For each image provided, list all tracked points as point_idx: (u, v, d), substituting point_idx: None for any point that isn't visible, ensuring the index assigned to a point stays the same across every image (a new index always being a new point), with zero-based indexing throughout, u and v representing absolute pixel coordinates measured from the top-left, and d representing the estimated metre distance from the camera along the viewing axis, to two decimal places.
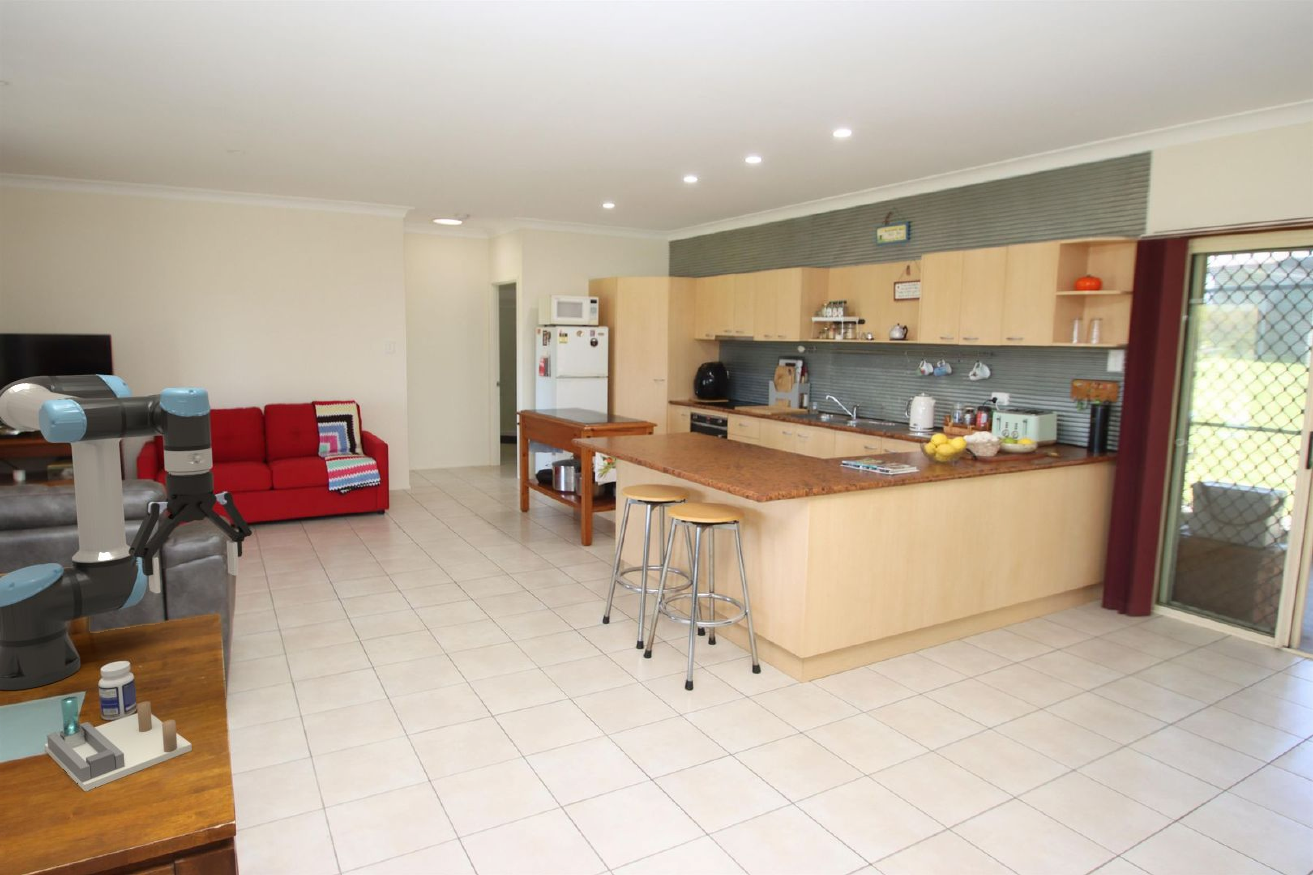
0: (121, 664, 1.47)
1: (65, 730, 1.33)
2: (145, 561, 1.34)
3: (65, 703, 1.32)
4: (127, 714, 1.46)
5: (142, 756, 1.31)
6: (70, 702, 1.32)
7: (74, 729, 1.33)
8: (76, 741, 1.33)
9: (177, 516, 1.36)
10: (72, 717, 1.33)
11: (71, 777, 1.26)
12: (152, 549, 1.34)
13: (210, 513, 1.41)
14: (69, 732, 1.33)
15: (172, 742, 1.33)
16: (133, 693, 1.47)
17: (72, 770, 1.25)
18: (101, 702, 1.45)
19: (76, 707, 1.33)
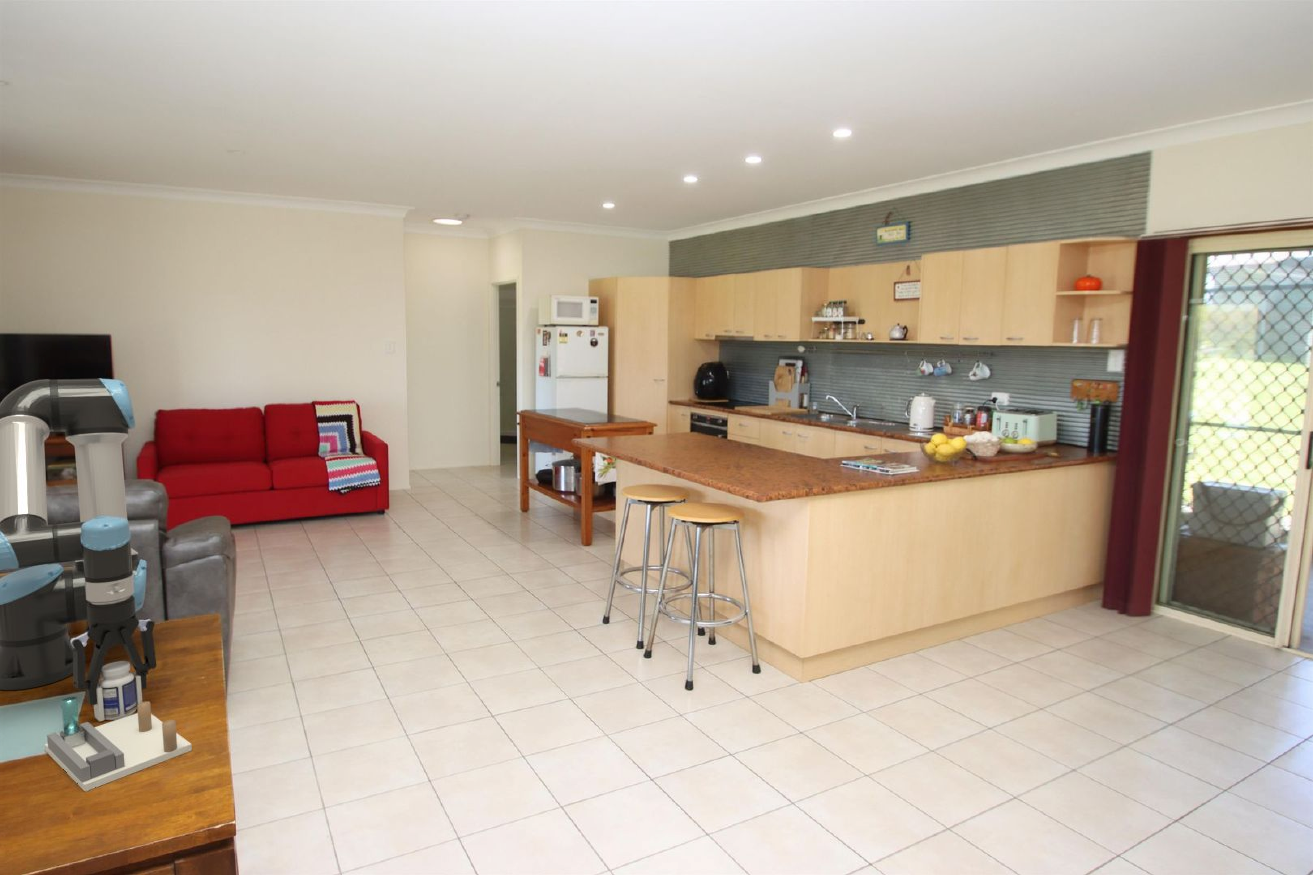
0: (121, 664, 1.47)
1: (65, 730, 1.33)
2: (89, 692, 1.43)
3: (65, 703, 1.32)
4: (127, 714, 1.46)
5: (142, 756, 1.31)
6: (70, 702, 1.32)
7: (74, 729, 1.33)
8: (76, 741, 1.33)
9: (102, 645, 1.43)
10: (72, 717, 1.33)
11: (71, 777, 1.26)
12: (93, 681, 1.43)
13: (127, 640, 1.46)
14: (69, 732, 1.33)
15: (172, 742, 1.33)
16: (133, 693, 1.47)
17: (72, 770, 1.25)
18: None
19: (76, 707, 1.33)
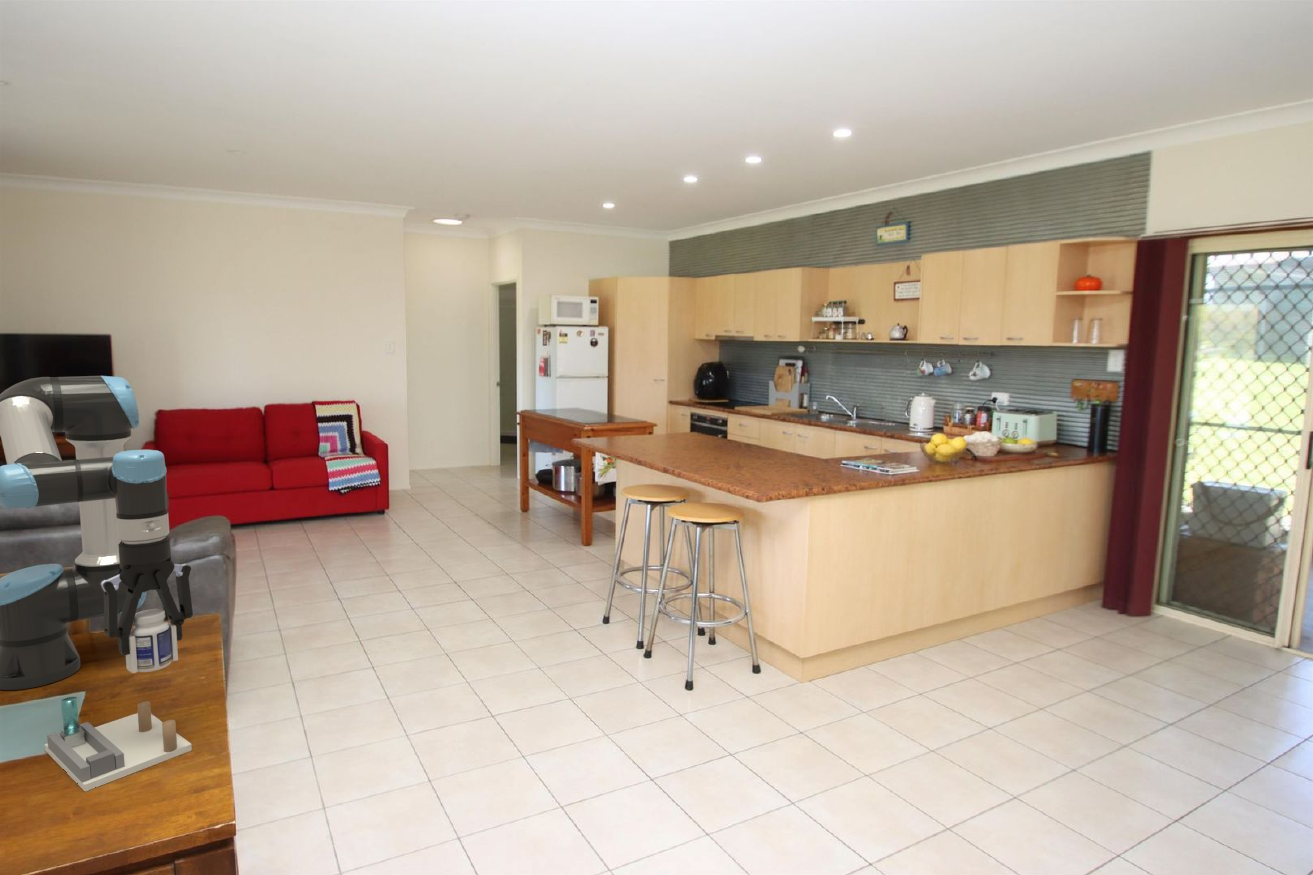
0: (155, 611, 1.34)
1: (65, 730, 1.33)
2: (121, 640, 1.30)
3: (65, 703, 1.32)
4: (162, 666, 1.33)
5: (142, 756, 1.31)
6: (70, 702, 1.32)
7: (74, 729, 1.33)
8: (76, 741, 1.33)
9: (135, 589, 1.30)
10: (72, 717, 1.33)
11: (71, 777, 1.26)
12: (126, 628, 1.30)
13: (162, 584, 1.33)
14: (69, 732, 1.33)
15: (172, 742, 1.33)
16: (168, 643, 1.35)
17: (72, 770, 1.25)
18: None
19: (76, 707, 1.33)
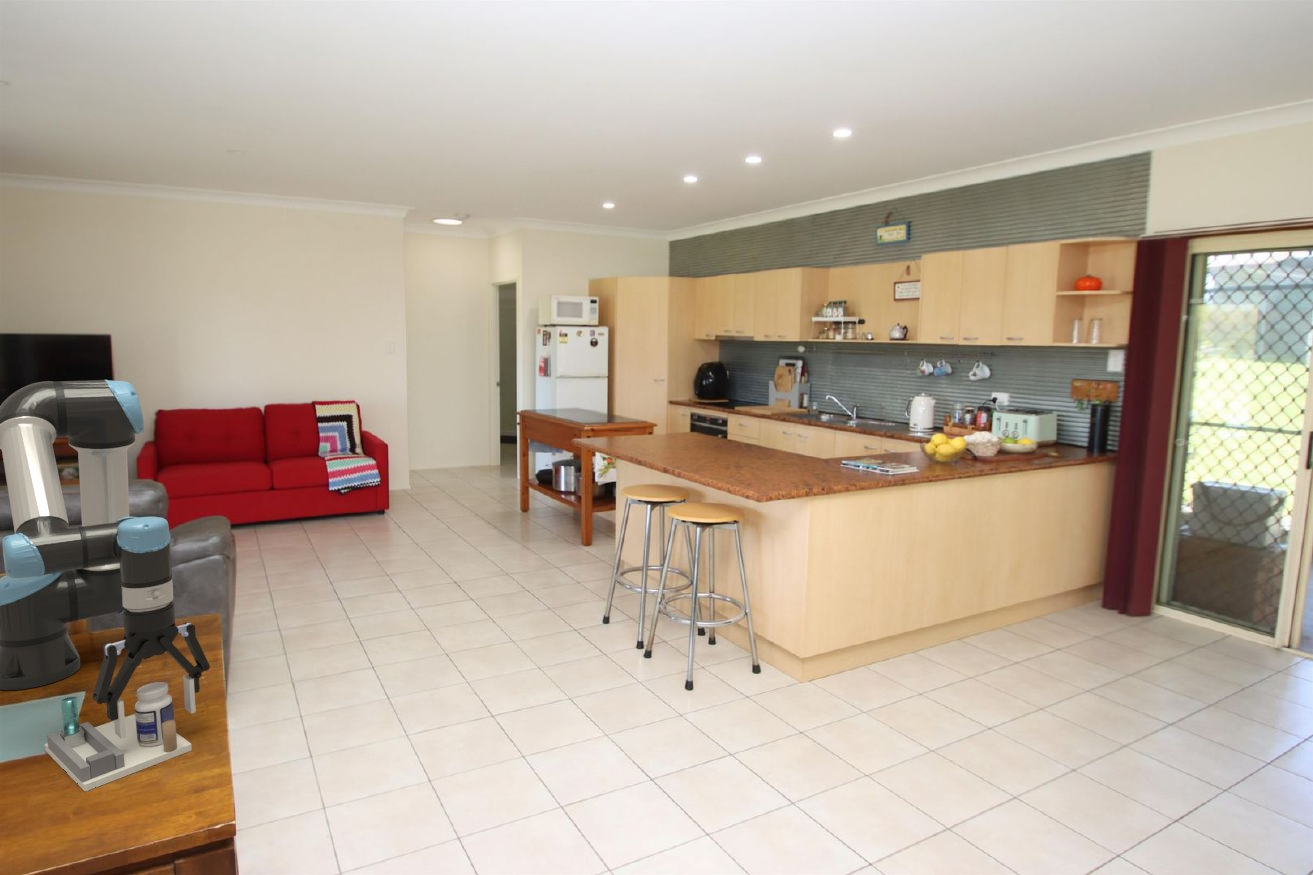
0: (158, 686, 1.36)
1: (65, 730, 1.33)
2: (109, 706, 1.29)
3: (65, 703, 1.32)
4: None
5: (142, 756, 1.31)
6: (70, 702, 1.32)
7: (74, 729, 1.33)
8: (76, 741, 1.33)
9: (137, 655, 1.31)
10: (72, 717, 1.33)
11: (71, 777, 1.26)
12: (116, 693, 1.29)
13: (169, 648, 1.35)
14: (69, 732, 1.33)
15: (172, 742, 1.33)
16: (171, 717, 1.36)
17: (72, 770, 1.25)
18: (137, 727, 1.33)
19: (76, 707, 1.33)
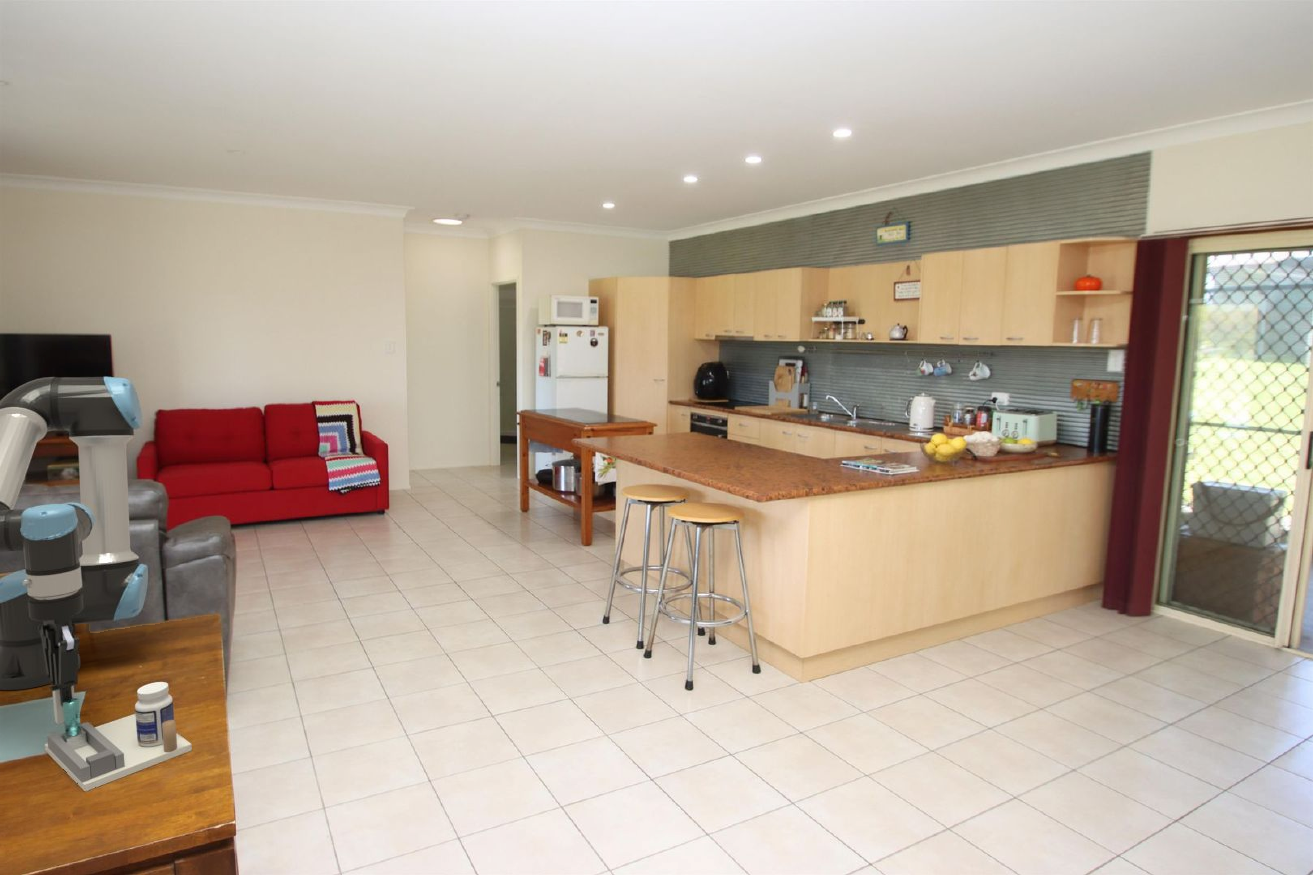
0: (159, 686, 1.36)
1: (67, 732, 1.32)
2: (55, 686, 1.35)
3: (67, 705, 1.31)
4: None
5: (142, 756, 1.31)
6: (72, 704, 1.32)
7: (76, 731, 1.33)
8: (78, 743, 1.33)
9: (44, 640, 1.33)
10: (74, 718, 1.32)
11: (71, 777, 1.26)
12: (50, 676, 1.34)
13: (49, 644, 1.31)
14: (71, 734, 1.32)
15: (172, 742, 1.33)
16: (172, 717, 1.36)
17: (72, 770, 1.25)
18: (137, 727, 1.33)
19: (78, 709, 1.33)
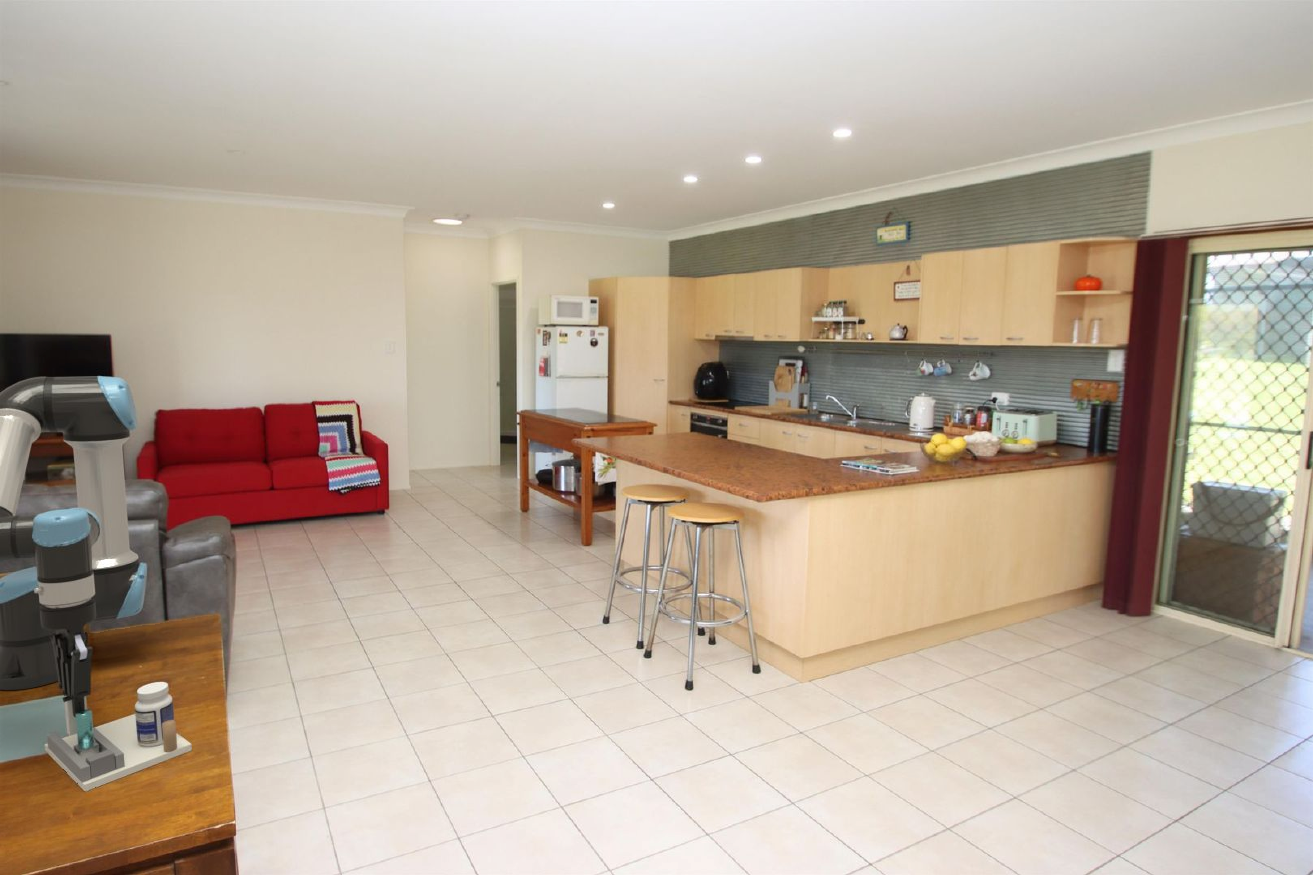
0: (158, 686, 1.36)
1: (80, 744, 1.28)
2: None
3: (80, 716, 1.28)
4: None
5: (142, 756, 1.31)
6: (85, 715, 1.28)
7: (89, 743, 1.29)
8: (91, 755, 1.29)
9: (56, 649, 1.29)
10: (87, 730, 1.29)
11: (71, 777, 1.26)
12: (63, 686, 1.30)
13: (61, 653, 1.27)
14: (84, 746, 1.28)
15: (172, 742, 1.33)
16: (171, 717, 1.36)
17: (72, 770, 1.25)
18: (137, 727, 1.33)
19: (91, 720, 1.29)
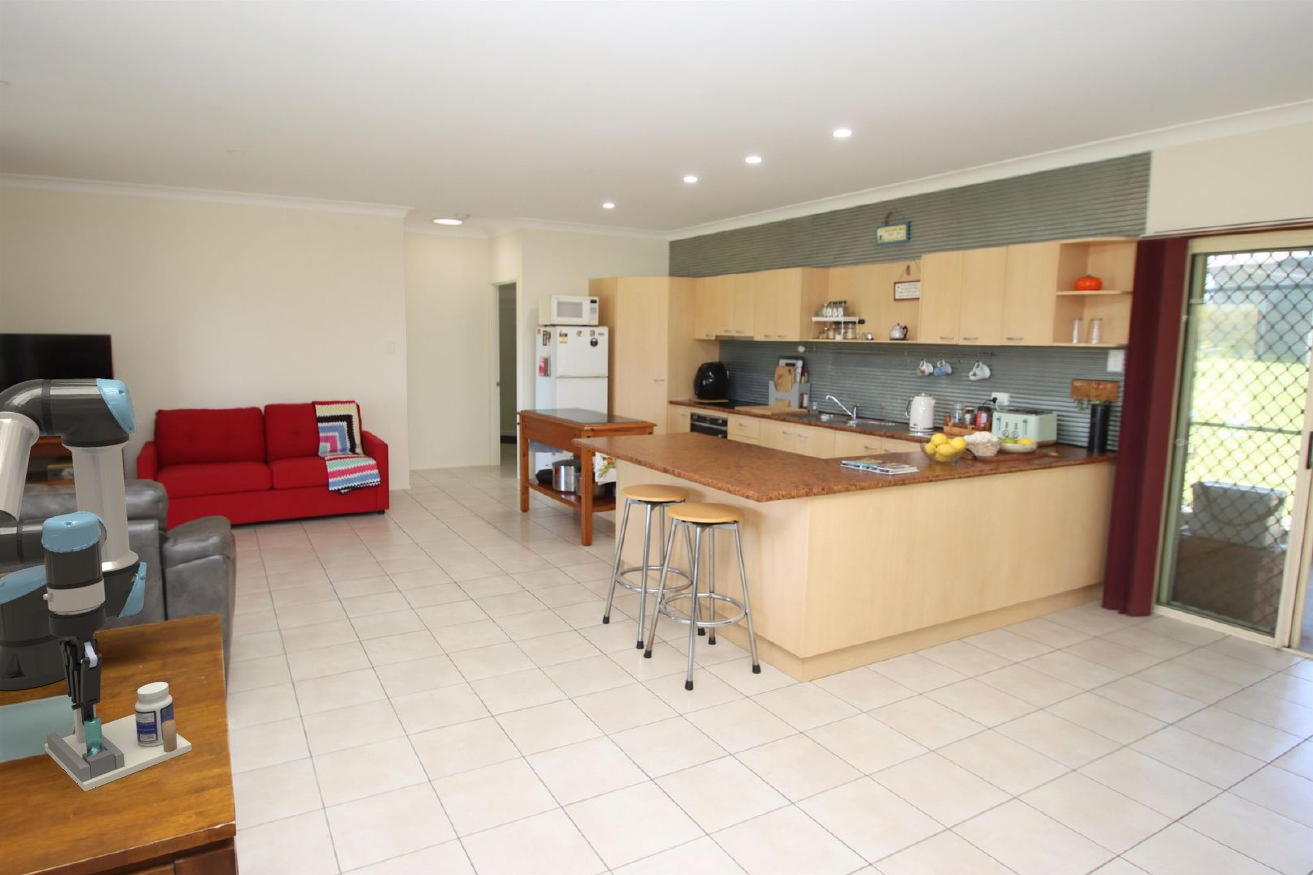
0: (159, 686, 1.36)
1: (88, 752, 1.26)
2: None
3: (89, 724, 1.25)
4: None
5: (142, 756, 1.31)
6: (94, 723, 1.26)
7: (98, 751, 1.26)
8: None
9: (65, 656, 1.27)
10: (96, 738, 1.26)
11: (71, 777, 1.26)
12: (72, 694, 1.28)
13: (70, 660, 1.25)
14: (93, 754, 1.26)
15: (172, 742, 1.33)
16: (172, 717, 1.36)
17: (72, 770, 1.25)
18: (137, 727, 1.33)
19: (100, 728, 1.27)
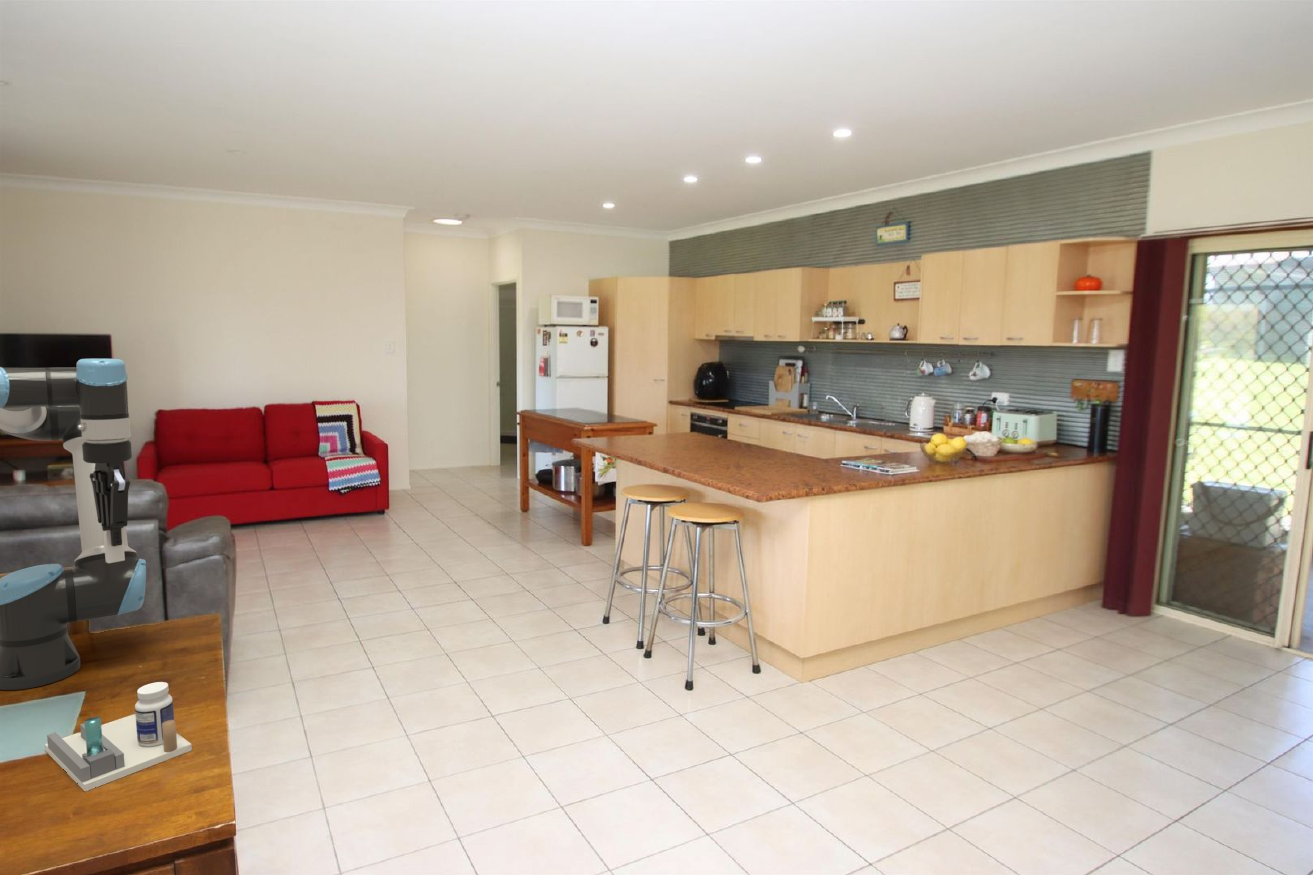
0: (159, 686, 1.36)
1: (88, 752, 1.26)
2: None
3: (89, 724, 1.25)
4: None
5: (142, 756, 1.31)
6: (94, 723, 1.26)
7: (98, 751, 1.26)
8: None
9: (96, 484, 1.43)
10: (96, 738, 1.26)
11: (71, 777, 1.26)
12: (102, 519, 1.44)
13: (101, 486, 1.42)
14: (93, 754, 1.26)
15: (172, 742, 1.33)
16: (172, 717, 1.36)
17: (72, 770, 1.25)
18: (137, 727, 1.33)
19: (100, 728, 1.27)
